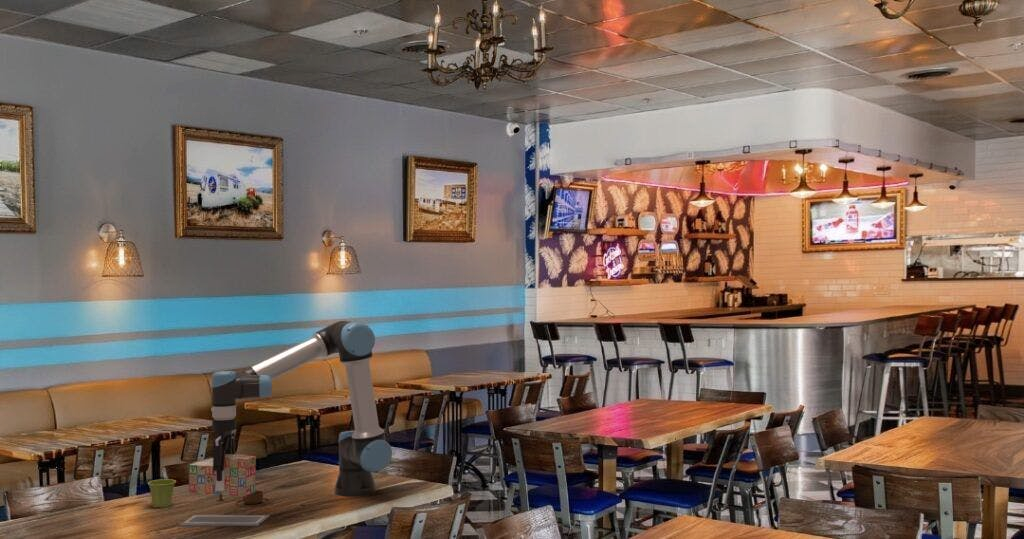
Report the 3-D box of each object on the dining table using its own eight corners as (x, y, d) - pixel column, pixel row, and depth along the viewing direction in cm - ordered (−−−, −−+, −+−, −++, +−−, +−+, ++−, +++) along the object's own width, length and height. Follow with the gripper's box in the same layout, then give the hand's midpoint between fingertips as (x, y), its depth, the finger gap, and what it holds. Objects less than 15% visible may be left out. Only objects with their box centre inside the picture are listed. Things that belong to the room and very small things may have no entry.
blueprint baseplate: (269, 518, 327) (269, 514, 327) (257, 528, 314) (257, 524, 314) (194, 517, 329) (194, 514, 329) (178, 527, 316) (178, 524, 316)
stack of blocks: (188, 492, 322) (188, 455, 322) (199, 488, 328) (199, 452, 328) (246, 496, 316) (246, 458, 316) (256, 492, 322) (256, 455, 322)
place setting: (235, 513, 337) (234, 496, 337) (214, 503, 353) (213, 486, 353) (282, 505, 348) (282, 489, 348) (260, 495, 364) (259, 479, 364)
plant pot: (168, 501, 353) (168, 477, 353) (180, 506, 346) (180, 481, 346) (143, 506, 346) (143, 481, 346) (155, 510, 339) (155, 485, 339)
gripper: (223, 413, 332) (224, 481, 332) (201, 422, 312) (202, 494, 312) (245, 413, 331) (245, 481, 331) (224, 423, 312) (224, 494, 312)
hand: (224, 487), depth 322 cm, fingers closed on stack of blocks, 7 cm apart
